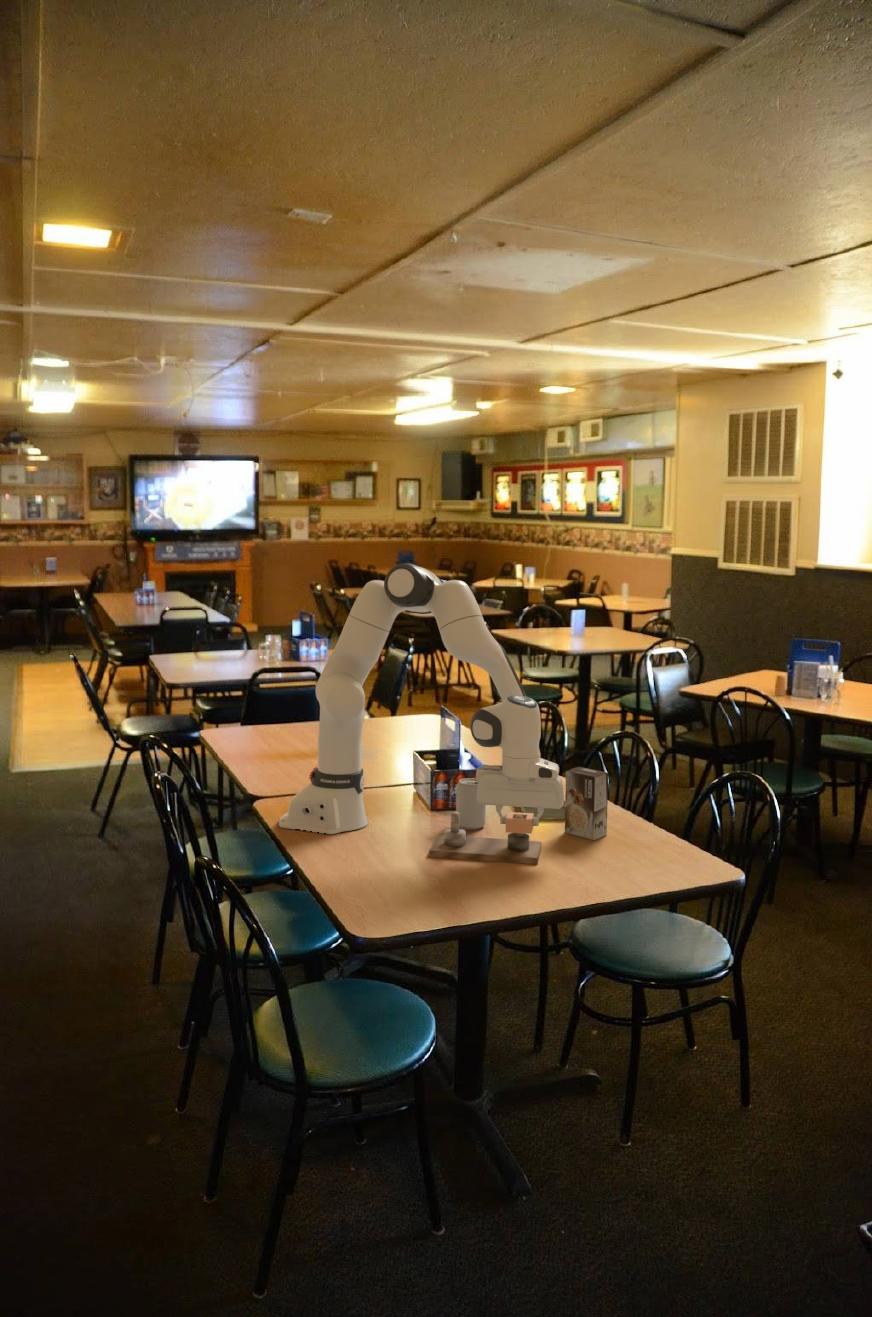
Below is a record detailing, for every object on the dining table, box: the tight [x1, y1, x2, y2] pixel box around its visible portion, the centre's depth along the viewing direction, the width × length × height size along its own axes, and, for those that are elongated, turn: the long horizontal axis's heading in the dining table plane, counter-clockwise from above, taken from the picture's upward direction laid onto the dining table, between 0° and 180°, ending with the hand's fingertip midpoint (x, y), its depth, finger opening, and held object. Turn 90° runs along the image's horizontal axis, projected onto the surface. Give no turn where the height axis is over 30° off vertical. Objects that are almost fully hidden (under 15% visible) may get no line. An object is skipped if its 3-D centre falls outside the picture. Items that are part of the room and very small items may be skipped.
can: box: [455, 777, 487, 831], centre depth 255 cm, size 8×8×12 cm
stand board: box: [428, 811, 542, 865], centre depth 236 cm, size 25×12×10 cm, turn 80°
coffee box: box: [564, 766, 609, 841], centre depth 250 cm, size 9×6×16 cm
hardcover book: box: [519, 800, 565, 820], centre depth 273 cm, size 12×21×4 cm, turn 2°
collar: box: [505, 811, 534, 835], centre depth 235 cm, size 6×6×3 cm
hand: (519, 824), depth 234 cm, fingers closed on collar, 6 cm apart
